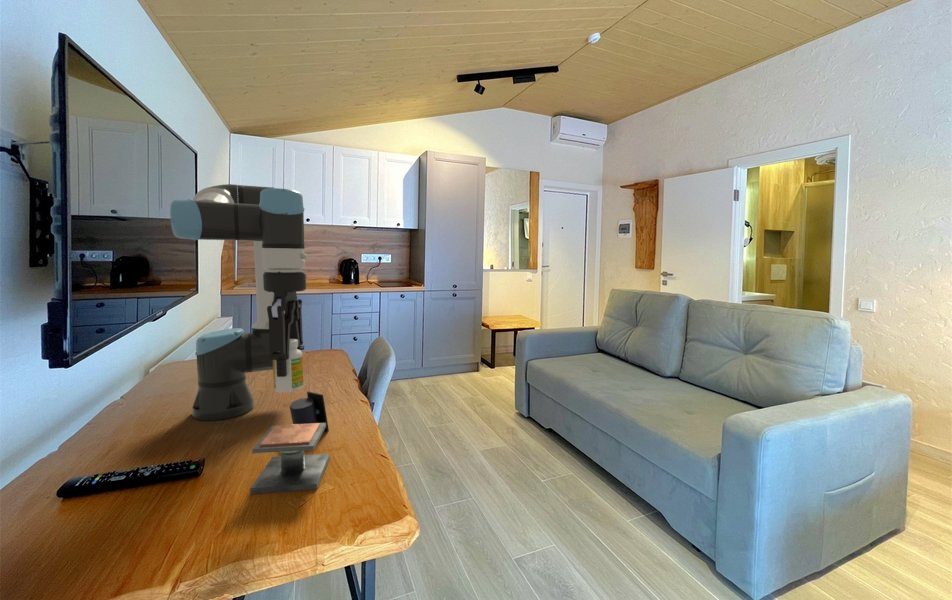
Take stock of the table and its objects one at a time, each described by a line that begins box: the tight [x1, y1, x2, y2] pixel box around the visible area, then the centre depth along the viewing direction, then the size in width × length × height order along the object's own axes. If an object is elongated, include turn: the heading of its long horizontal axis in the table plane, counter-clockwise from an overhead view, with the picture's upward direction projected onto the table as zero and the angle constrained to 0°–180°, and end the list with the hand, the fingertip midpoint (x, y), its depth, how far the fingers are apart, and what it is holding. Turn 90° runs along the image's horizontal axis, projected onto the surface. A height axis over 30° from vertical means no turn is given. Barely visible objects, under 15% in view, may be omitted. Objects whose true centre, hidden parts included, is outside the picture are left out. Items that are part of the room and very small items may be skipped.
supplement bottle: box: [272, 339, 304, 392], centre depth 80 cm, size 5×5×10 cm
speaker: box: [289, 390, 330, 432], centre depth 102 cm, size 8×6×10 cm
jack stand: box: [249, 423, 331, 495], centre depth 82 cm, size 12×12×9 cm
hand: (289, 386), depth 81 cm, fingers closed on supplement bottle, 5 cm apart
